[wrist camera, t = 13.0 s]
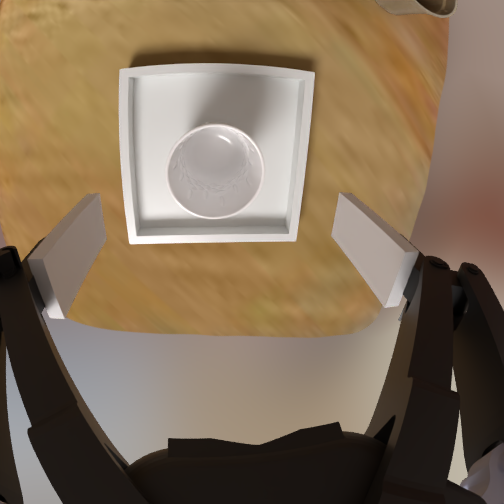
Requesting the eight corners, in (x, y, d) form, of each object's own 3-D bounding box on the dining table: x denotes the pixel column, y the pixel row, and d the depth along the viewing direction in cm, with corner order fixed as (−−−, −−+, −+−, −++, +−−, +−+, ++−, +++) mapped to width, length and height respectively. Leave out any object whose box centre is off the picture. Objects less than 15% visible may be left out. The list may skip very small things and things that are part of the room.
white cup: (178, 116, 28) (164, 124, 19) (251, 117, 29) (268, 125, 21) (178, 185, 32) (167, 220, 23) (246, 185, 33) (261, 219, 24)
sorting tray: (127, 71, 25) (119, 69, 22) (305, 74, 28) (314, 72, 25) (134, 232, 35) (129, 244, 32) (289, 230, 38) (295, 241, 35)
